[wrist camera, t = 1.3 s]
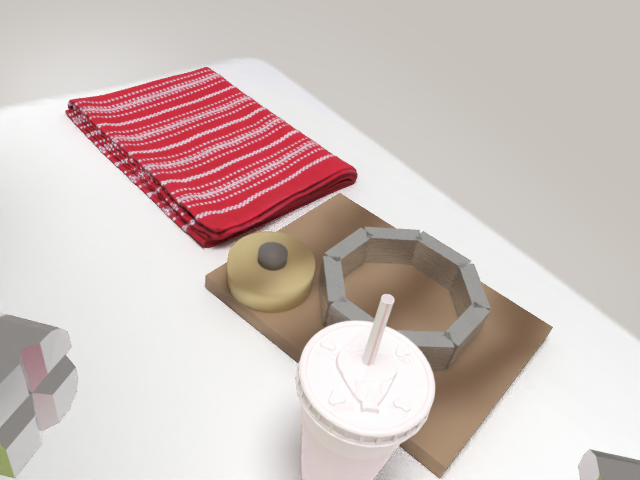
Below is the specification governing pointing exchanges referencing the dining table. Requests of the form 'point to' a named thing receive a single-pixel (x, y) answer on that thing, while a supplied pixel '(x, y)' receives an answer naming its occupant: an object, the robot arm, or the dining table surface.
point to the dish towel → (209, 153)
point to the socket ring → (425, 258)
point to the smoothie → (360, 397)
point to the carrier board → (365, 292)
